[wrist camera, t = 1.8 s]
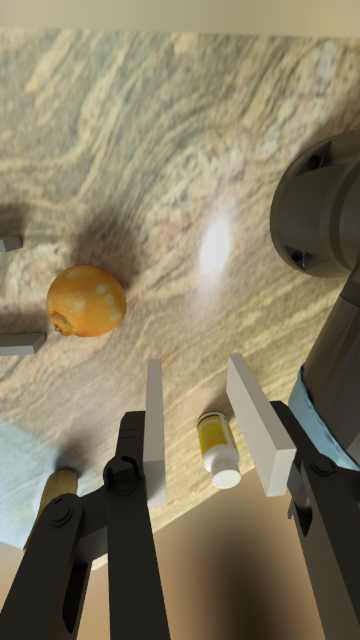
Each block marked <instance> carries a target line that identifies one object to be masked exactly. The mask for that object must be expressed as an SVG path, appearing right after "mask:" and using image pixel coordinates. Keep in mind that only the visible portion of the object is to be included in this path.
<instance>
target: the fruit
mask: <svg viewBox="0 0 360 640" xmlns="http://www.w3.org/2000/svg"><path fill="white" fill-rule="evenodd" d="M126 308H127V303H126V296H125V293H124V291H123V289H122V287H121V285H120V284H119V282H118V281H117V280H116V279H115V278H114V277H113V276H112V275H111V274H109V273H108V272H106V271H105V270H103V269H101V268H98V267H95V266H91V265H76V266H73V267H70V268H68V269H66V270H64V271H63V272H61V273H60V274H59V275H58V276H57V277H56V279H55V280H54V281H53V283H52V284H51V286H50V288H49V291H48V295H47V309H48V312H49V314H50V316H51V322H52V324H53V326H54V327H55V331H58V332H60V334H62V335H64V336H71V335H73V334H74V335H77V336H79V337H96V336H100V335H103V334H106V333H108V332H110V331H112V330H113V329H115V328H116V327H117V326H118V325H119V324H120V323H121V322H122V320H123V318H124V316H125V313H126Z"/></svg>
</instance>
